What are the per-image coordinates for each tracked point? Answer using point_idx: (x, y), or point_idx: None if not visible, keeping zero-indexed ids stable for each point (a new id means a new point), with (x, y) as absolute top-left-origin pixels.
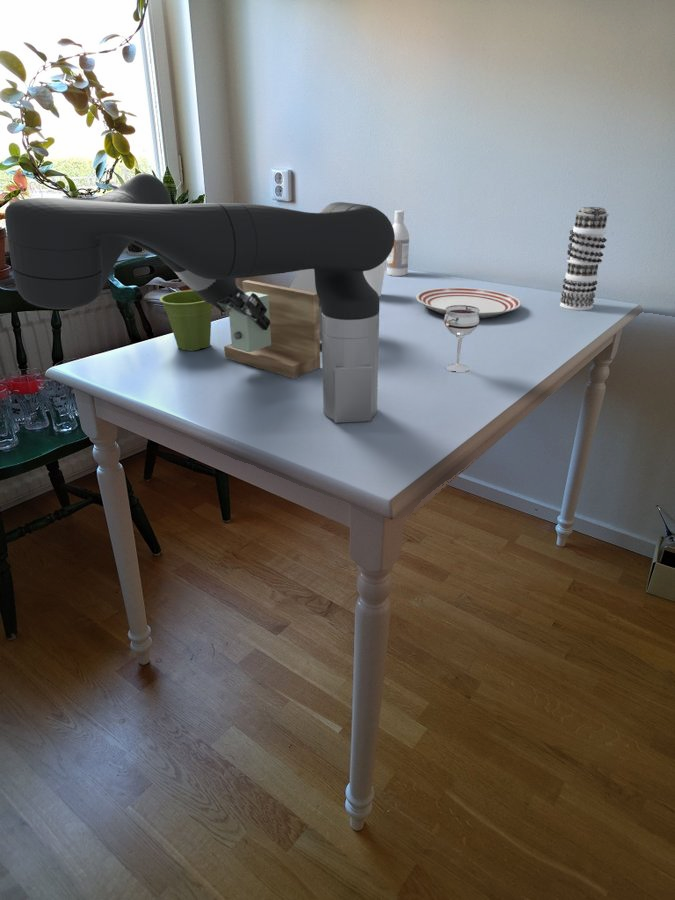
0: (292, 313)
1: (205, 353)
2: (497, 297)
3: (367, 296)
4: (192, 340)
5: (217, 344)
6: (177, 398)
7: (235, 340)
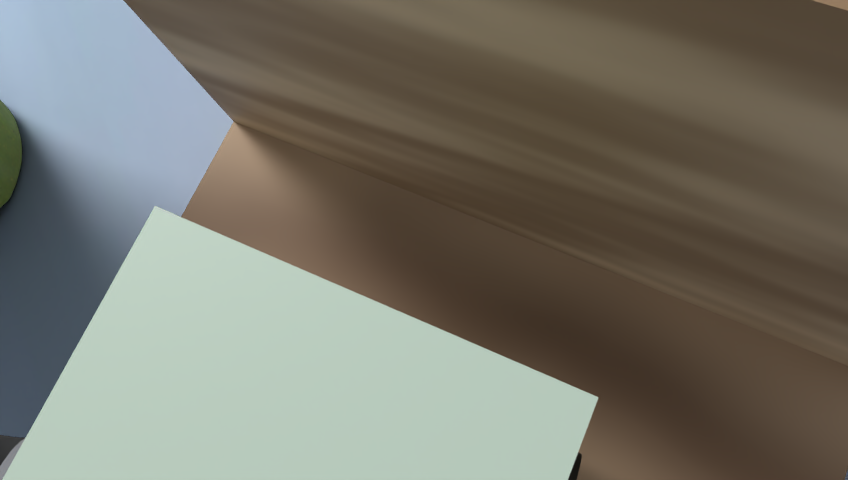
0: (775, 197)
1: (37, 270)
2: None
3: None
4: None
5: (60, 107)
6: None
7: None
